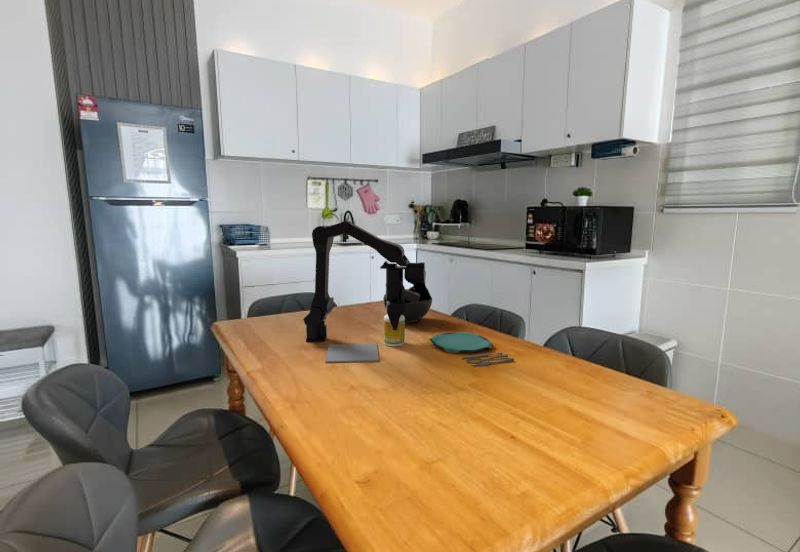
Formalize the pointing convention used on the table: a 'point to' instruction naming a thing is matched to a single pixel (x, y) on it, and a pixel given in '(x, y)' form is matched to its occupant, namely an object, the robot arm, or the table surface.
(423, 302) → the coal bowl
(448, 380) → the table surface
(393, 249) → the robot arm
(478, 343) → the cutlery set
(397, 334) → the supplement bottle
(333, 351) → the grey mat
